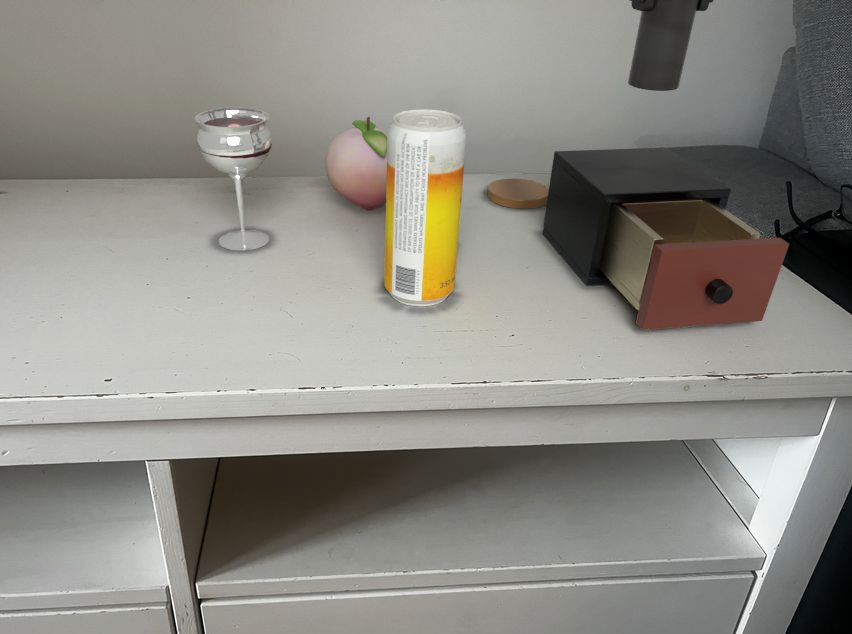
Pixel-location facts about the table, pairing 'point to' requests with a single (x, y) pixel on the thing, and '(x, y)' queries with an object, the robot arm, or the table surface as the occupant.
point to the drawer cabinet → (613, 196)
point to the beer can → (423, 205)
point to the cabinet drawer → (689, 263)
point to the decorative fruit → (359, 164)
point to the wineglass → (235, 158)
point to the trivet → (518, 193)
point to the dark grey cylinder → (662, 45)
